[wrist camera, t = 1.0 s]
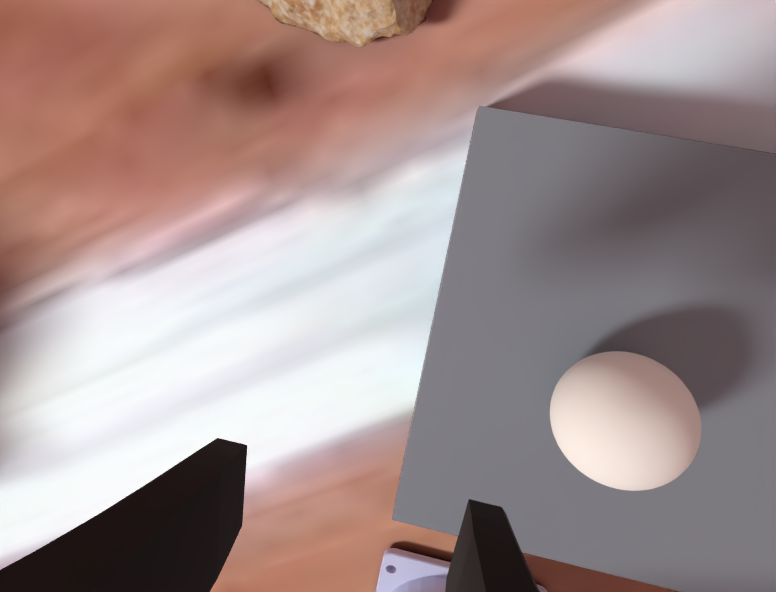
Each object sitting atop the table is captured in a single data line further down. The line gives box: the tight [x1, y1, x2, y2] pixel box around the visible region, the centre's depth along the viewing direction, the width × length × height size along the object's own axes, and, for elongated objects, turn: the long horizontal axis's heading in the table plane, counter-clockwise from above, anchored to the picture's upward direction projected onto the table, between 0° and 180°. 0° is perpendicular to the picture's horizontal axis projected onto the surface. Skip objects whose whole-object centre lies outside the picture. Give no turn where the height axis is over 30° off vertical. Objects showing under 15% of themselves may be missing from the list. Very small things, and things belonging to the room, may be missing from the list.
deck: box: [392, 106, 776, 592], centre depth 16 cm, size 16×24×2 cm, turn 81°
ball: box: [550, 351, 701, 491], centre depth 14 cm, size 4×4×4 cm
